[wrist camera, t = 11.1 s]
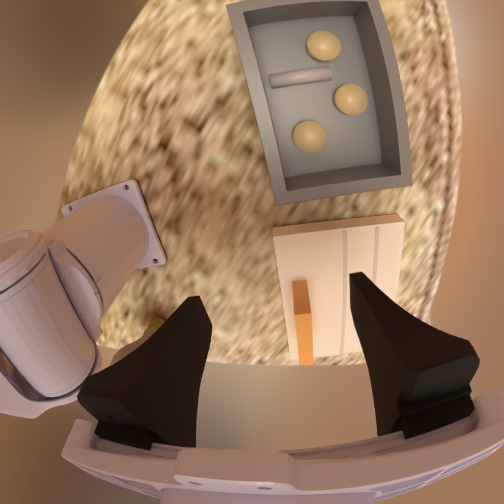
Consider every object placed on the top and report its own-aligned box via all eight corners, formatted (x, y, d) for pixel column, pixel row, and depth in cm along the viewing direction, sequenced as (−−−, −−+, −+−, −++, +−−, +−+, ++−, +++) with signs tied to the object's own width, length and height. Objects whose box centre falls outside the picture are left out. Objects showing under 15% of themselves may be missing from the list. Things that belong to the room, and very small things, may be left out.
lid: (290, 348, 29) (291, 391, 24) (272, 227, 22) (271, 265, 17) (382, 336, 27) (395, 375, 22) (397, 213, 20) (427, 246, 15)
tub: (275, 187, 20) (276, 206, 17) (234, 23, 14) (225, 5, 11) (389, 170, 19) (412, 185, 15) (358, 9, 13) (375, -9, 9)
